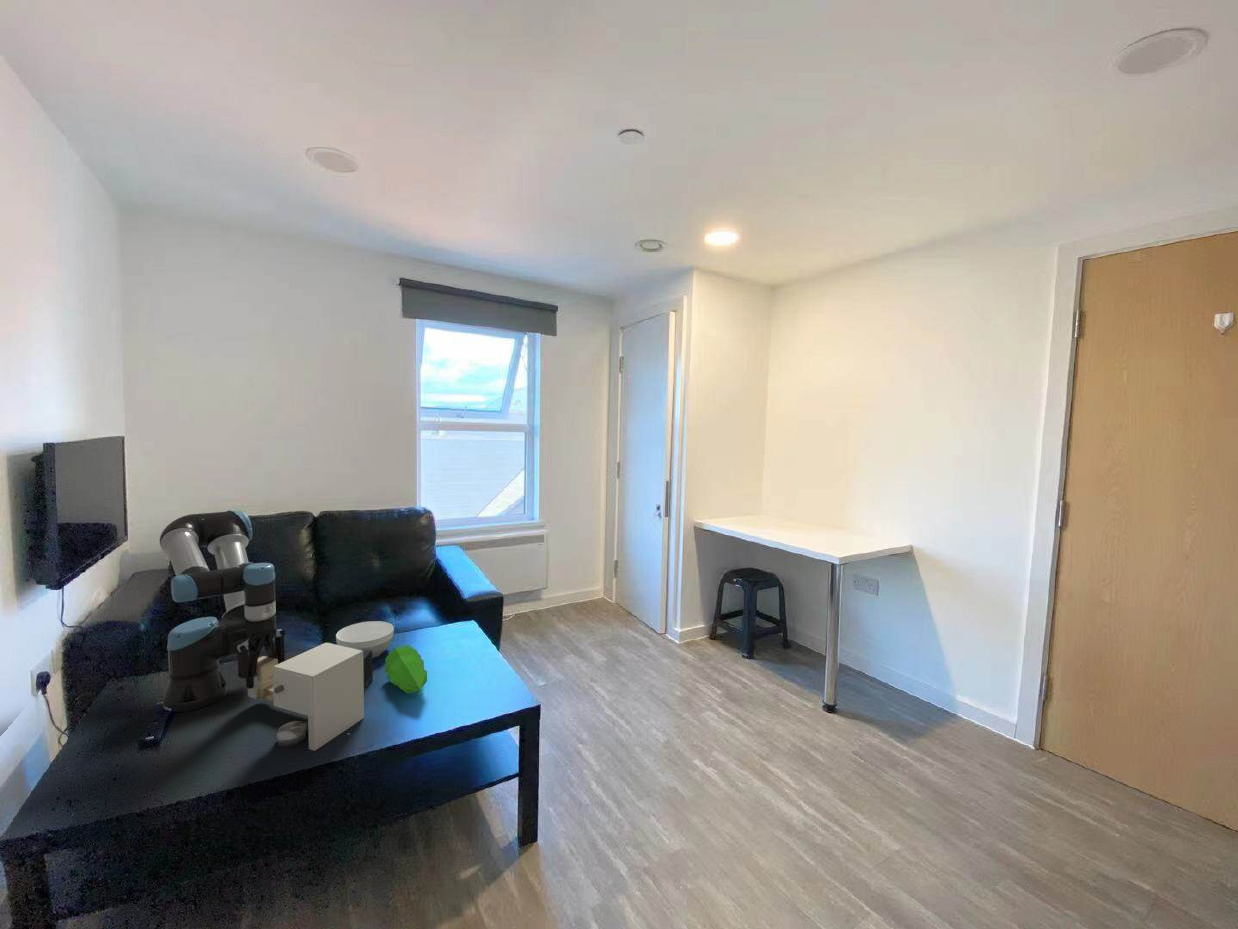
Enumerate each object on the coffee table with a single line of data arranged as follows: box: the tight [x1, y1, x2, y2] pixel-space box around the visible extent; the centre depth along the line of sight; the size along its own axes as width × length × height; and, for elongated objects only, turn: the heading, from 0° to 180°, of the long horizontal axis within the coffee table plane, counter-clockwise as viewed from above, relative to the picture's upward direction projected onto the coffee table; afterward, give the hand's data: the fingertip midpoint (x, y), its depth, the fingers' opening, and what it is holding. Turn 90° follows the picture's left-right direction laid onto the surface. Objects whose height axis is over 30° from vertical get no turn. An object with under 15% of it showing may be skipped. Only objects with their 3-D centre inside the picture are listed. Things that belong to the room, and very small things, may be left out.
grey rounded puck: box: [276, 720, 307, 747], centre depth 138 cm, size 6×6×3 cm
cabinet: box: [273, 642, 365, 752], centre depth 141 cm, size 14×18×20 cm
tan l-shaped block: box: [247, 655, 278, 702], centre depth 151 cm, size 21×5×10 cm, turn 71°
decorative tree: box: [384, 644, 428, 695], centre depth 165 cm, size 11×12×30 cm
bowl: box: [335, 620, 394, 659], centre depth 187 cm, size 19×19×9 cm
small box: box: [362, 650, 374, 690], centre depth 166 cm, size 11×6×10 cm, turn 92°
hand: (263, 692), depth 154 cm, fingers closed on tan l-shaped block, 5 cm apart
